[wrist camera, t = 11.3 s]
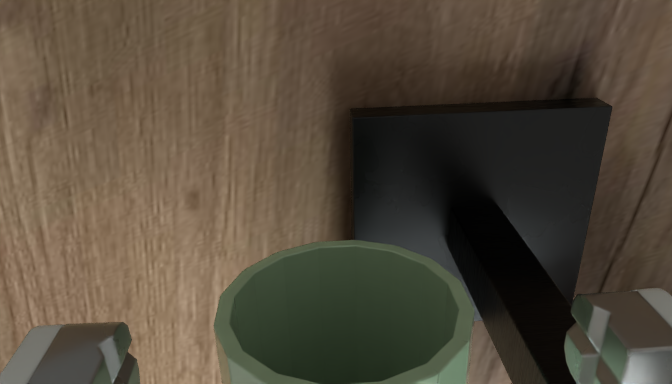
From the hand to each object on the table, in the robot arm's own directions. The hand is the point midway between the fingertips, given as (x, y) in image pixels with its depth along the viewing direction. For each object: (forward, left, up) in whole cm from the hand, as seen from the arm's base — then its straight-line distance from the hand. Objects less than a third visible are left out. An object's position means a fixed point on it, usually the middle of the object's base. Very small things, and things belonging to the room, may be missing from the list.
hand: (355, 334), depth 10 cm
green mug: (+11, 0, -2) cm, 11 cm away
